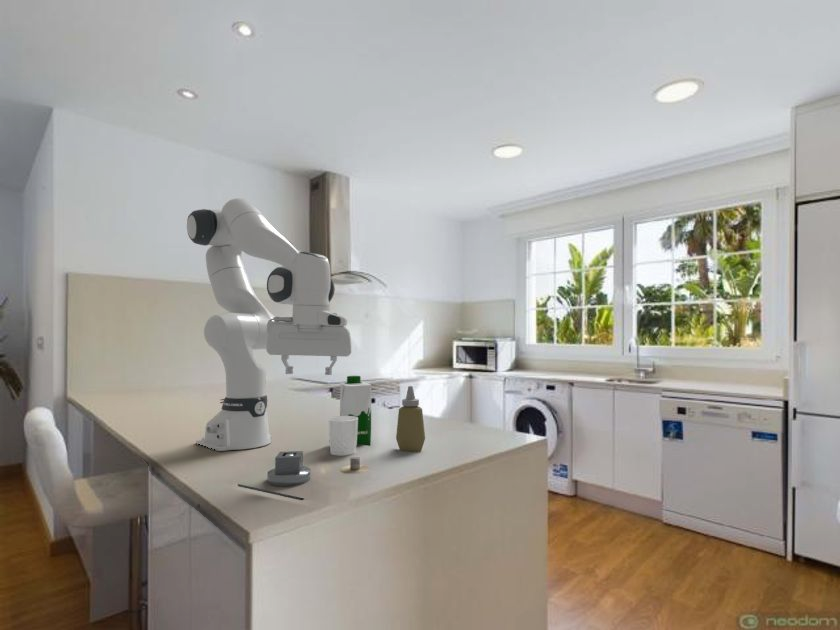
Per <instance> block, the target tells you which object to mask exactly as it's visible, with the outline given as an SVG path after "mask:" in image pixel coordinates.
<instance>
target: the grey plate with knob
mask: <svg viewBox="0 0 840 630" xmlns="http://www.w3.org/2000/svg"><path fill="white" fill-rule="evenodd" d="M285 456H294V454H286V455H285ZM311 475H312V474H311V468H310V467H309V466H306V465H303V468H302V470H301V472H300V474H290V475H275V467H274V468H272V469H270V470H269V471H267V474H266V476H267V477H266V479H267V482H266V483H267V484H268V485H269V486H271V487H276V488H279V487H281V488H287V487H295V486H299V485H301V486H302V485H304V484H306V483H308V482H309V481H311ZM237 487H240V488H243V489H249V490H252V491H253V490H254V491H257V492H262V493H267V494H270V495H276V496H280V497H284V498H290V499H292V500H293V499H294V500H299V501H302V500H304V499H305V497H304V498H303V497H299V496H295V495H290V494H286V493H282V492H277V491H276V492H275V491H271V490H267V489H263V488H258V487H253V486H249V485H244V484H239V483H237Z"/></svg>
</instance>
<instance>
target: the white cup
mask: <svg viewBox="0 0 840 630" xmlns="http://www.w3.org/2000/svg"><path fill="white" fill-rule="evenodd" d="M327 421H328V438H329V440H328V441H329V449H330V451H329V452H330V454H331V456H332V455H333V456H351V455H354V454H356V453H357V446H358V445H357V432H358V417H355V416H340V415H337V416H331V417H329V418H328V420H327Z"/></svg>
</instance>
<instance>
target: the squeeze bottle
mask: <svg viewBox="0 0 840 630" xmlns="http://www.w3.org/2000/svg"><path fill="white" fill-rule="evenodd" d="M406 391H407V392H406V396H405V398H403V399H402V400H401V403H402V404H401V405H402V406H401V407H400V408H398V416H397V425H396V426H397V427H396V435H395V436H396V437H395V439H396V443H397V447H398V448H399V451H405V452H412V453H421V452H422V450H423V446H424V443H425V441H426V434H425V433H426V432H425V423H424V413H423V408H422V407H421V406H419V405H420V399H419V398H416V396H415V391H414V387H413V386H412V385H409V386H408V387H407V390H406Z"/></svg>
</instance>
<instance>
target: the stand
mask: <svg viewBox="0 0 840 630" xmlns="http://www.w3.org/2000/svg"><path fill="white" fill-rule="evenodd" d="M360 460H361V458H360V457H359V456H351V457H350V461H349V465H344V466H342V467H340V468H339V471H340V472H341V473H344V474H350V475H351V474H352V475H353V474H363V473H366V472H368V471H370V469H371V468H370V466H369V465H366V464H361V461H360Z"/></svg>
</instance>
